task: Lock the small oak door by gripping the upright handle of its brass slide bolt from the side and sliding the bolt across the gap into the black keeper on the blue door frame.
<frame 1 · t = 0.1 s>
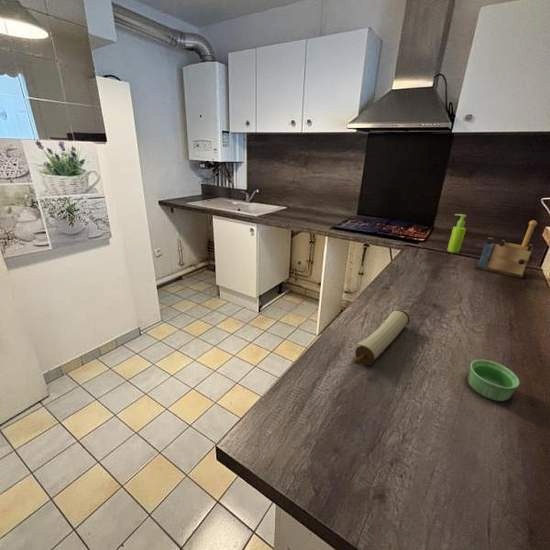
bamboo tube: (382, 342, 81), on the worktop
ramekin: (487, 388, 66), on the worktop
soap dispenser: (451, 251, 160), on the worktop
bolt: (522, 233, 124), point 18 cm above the worktop, slide at 0.0 cm
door: (499, 271, 133), on the worktop
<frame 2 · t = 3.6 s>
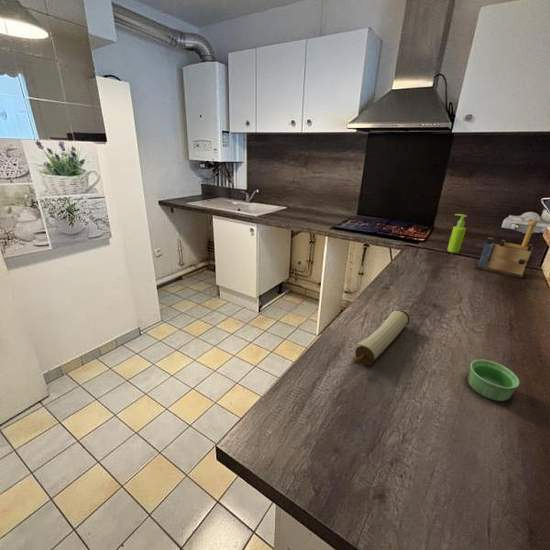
hand: (528, 229, 132), 18 cm above the worktop, tool horizontal, fingers open, 8 cm apart
nothing on the worktop moved.
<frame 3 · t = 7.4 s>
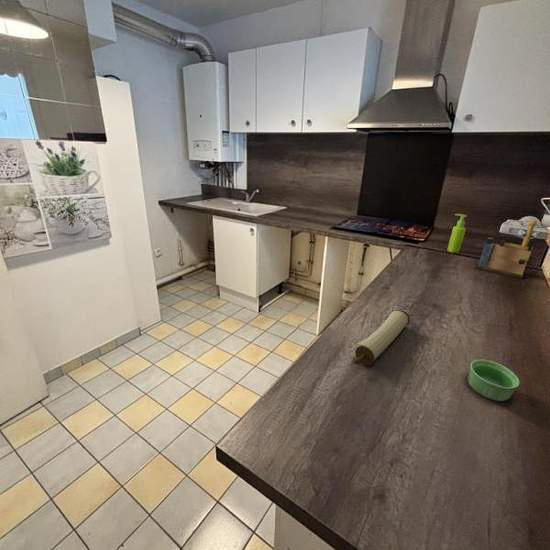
hand: (528, 235, 122), 19 cm above the worktop, tool horizontal, fingers closed on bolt, 2 cm apart
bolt: (522, 233, 124), point 18 cm above the worktop, slide at 0.0 cm, touching gripper
everything else where it was.
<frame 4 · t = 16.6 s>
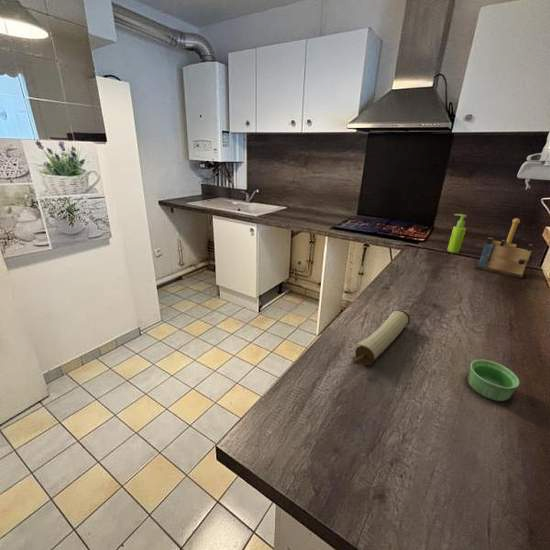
hand: (540, 190, 129), 35 cm above the worktop, tool pointing down, fingers open, 8 cm apart
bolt: (506, 231, 127), point 18 cm above the worktop, slide at 5.6 cm
everything else where it was.
at the end: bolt slide at 5.6 cm; the gripper is holding nothing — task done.
